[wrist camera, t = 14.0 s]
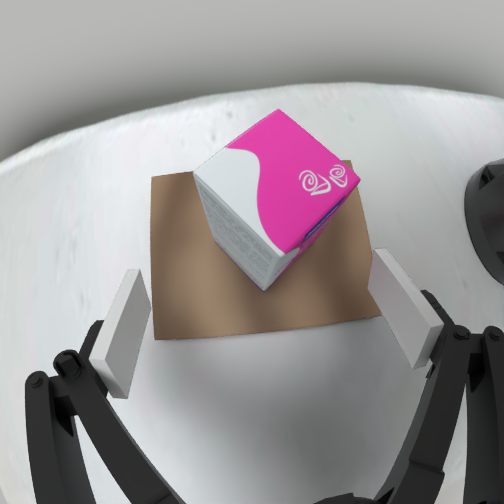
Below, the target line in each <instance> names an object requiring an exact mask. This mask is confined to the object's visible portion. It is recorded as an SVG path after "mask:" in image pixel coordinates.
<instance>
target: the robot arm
mask: <svg viewBox="0 0 504 504" xmlns="http://www.w3.org/2000/svg"><path fill="white" fill-rule="evenodd" d="M465 212H466V219H467V225H468V229H469V232H470V236H471V239H472V241H473V244H474V247H475V249H476V251H477V253H478V255H479V257H480V259H481V261H482V262H483V264H484V266H485V267H486V268H487V270H488V271H489V272H490V273H491V275H492V276H493V277H494V278H495V279H496V280H498V281H499V282H500V283H502V284H504V159H501V160H497V161H493V162H490V163H488V164H486V165H484V166H483V167H482V168H481V169H479V170H478V171H477V172H476V173H475V174H474V175H473V176H472V177H471V179H470V181H469V183H468V185H467V189H466V195H465ZM368 290H369V292H370V293H371V295H372V297H373V299H374V300H375V302H376V304H377V305H378V307H379V309H380V311H381V312H382V314H383V316H384V318H385V319H386V321H387V323H388V325H389V326H390V328H391V330H392V332H393V334H394V336H395V337H396V339H397V341H398V343H399V345H400V347H401V348H402V350H403V352H404V354H405V356H406V358H407V360H408V362H409V364H410V365H411V367H412V369H416V368H420V367H423V366H426V364H427V362H428V360H429V358H430V359H431V361H432V362H433V364H432V366H431V368H430V370H429V372H428V374H427V376H426V378H427V381H426V384H425V387H424V391H423V394H422V397H421V399H420V402H419V405H418V408H417V411H416V413H415V416H414V419H413V421H412V424H411V426H410V429H409V431H408V434H407V436H406V439H405V441H404V443H403V446H402V448H401V450H400V452H399V455H398V457H397V459H396V461H395V463H394V465H393V467H392V470H391V472H390V474H389V476H388V478H387V480H386V481H385V483H384V485H383V486H382V488H381V489H380V490H379V492H378V493H377V495H376V497H375V498H374V500H372V499H368V498H362V497H354V495H353V493H348V494H344V495H340V496H335V497H330V498H326V499H323V500H321V501H318V502H316V503H314V504H434V503H435V500H436V498H437V496H438V493H439V491H440V488H441V485H442V483H443V480H444V475H445V473H444V472H443V471H442V470H443V465H444V462H445V460H446V457H447V453H448V450H449V447H450V444H451V441H452V437H453V434H454V430H455V426H456V423H457V419H458V415H459V411H460V406H461V402H462V397H463V392H464V387H465V383H466V399H467V460H466V475H465V487H464V496H463V504H504V333H503V332H502V330H501V329H499V328H497V327H495V326H488V327H486V328H485V330H484V332H483V334H471V333H470V331H469V330H468V329H467V328H466V327H463V326H461V325H455V324H454V322H453V321H452V319H451V318H450V317H449V315H448V314H447V313H446V311H445V310H444V309H443V308H442V306H441V305H440V304H439V303H438V301H437V300H436V298H435V297H434V296H433V295H432V294H431V293H429V292H428V291H426V290H421V291H420V290H419V289H418V288H417V286H416V285H415V284H414V283H413V281H412V280H411V279H410V277H409V276H408V275H407V274H406V272H405V271H404V270H403V269H402V267H401V266H400V265H399V264H398V263H397V261H396V260H395V259H394V258H393V256H392V255H391V254H390V253H389V252H388V250H387V249H386V248H380V249H374V252H373V259H372V265H371V271H370V277H369V283H368ZM150 311H151V305H150V301H149V298H148V295H147V292H146V288H145V285H144V281H143V278H142V275H141V271H140V269H132V270H127V272H126V274H125V276H124V278H123V280H122V282H121V284H120V287H119V289H118V291H117V293H116V295H115V297H114V300H113V302H112V304H111V306H110V309H109V311H108V313H107V315H106V318H105V320H97V321H96V322H95V323H94V324H93V325H92V326H91V327H90V329H89V331H88V333H87V336H86V338H85V340H84V342H83V345H82V347H81V349H80V352H79V354H78V353H77V352H76V351H75V350H72V349H71V350H65V351H62V352H61V353H59V354H58V355H57V356H56V357H55V359H54V362H53V367H54V369H55V370H56V372H57V373H58V376H53V377H48V376H47V374H46V373H45V372H43V371H36V372H34V373H32V374H31V375H29V376H28V378H27V380H26V383H25V414H26V432H27V443H28V453H29V461H30V469H31V475H32V481H33V487H34V492H35V497H36V502H37V504H96V501H95V498H94V495H93V492H92V489H91V485H90V482H89V479H88V475H87V472H86V468H85V464H84V460H83V456H82V452H81V448H80V443H79V439H78V434H77V429H76V424H75V418H74V416H75V415H78V416H79V418H80V420H81V422H82V424H83V426H84V428H85V430H86V432H87V433H88V435H89V437H90V439H91V441H92V443H93V444H94V446H95V448H96V450H97V451H98V453H99V455H100V457H101V458H102V460H103V462H104V463H105V465H106V466H107V468H108V470H109V471H110V473H111V474H112V476H113V477H114V479H115V481H116V482H117V484H118V485H119V486H120V488H121V489H122V491H123V492H124V494H125V495H126V497H127V498H128V499H129V501H130V502H131V504H186V503H185V502H184V501H183V500H182V499H181V498H180V496H179V495H178V494H177V493H176V492H175V491H174V490H173V488H172V487H171V486H170V485H169V484H168V483H167V481H166V480H165V479H164V478H163V477H162V475H161V474H160V473H159V472H158V471H157V469H156V468H155V467H154V466H153V464H152V463H151V462H150V460H149V459H148V458H147V457H146V455H145V454H144V453H143V451H142V450H141V449H140V447H139V446H138V444H137V443H136V442H135V440H134V439H133V438H132V436H131V435H130V433H129V432H128V430H127V429H126V427H125V426H124V424H123V423H122V421H121V420H120V418H119V417H118V415H117V414H116V412H115V411H114V409H113V408H112V406H111V404H110V403H109V401H108V400H107V398H106V397H107V393H108V391H109V393H110V394H111V396H112V397H113V398H121V399H128V395H129V391H130V386H131V382H132V378H133V374H134V370H135V366H136V362H137V358H138V354H139V350H140V347H141V343H142V339H143V336H144V332H145V328H146V325H147V321H148V318H149V314H150Z"/></svg>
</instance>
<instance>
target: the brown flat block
mask: <svg viewBox="0 0 504 504" xmlns="http://www.w3.org/2000/svg"><path fill="white" fill-rule="evenodd" d="M341 161H342V162H343V163H344V164H346V165H347V166H348V167H349V168H350V169H351V170H352V171H353V168H352V164H351V160H341ZM353 172H354V171H353ZM150 250H151V288H152V308H153V324H154V337H155V340H171V339H190V338H206V337H219V336H232V335H243V334H253V333H263V332H273V331H281V330H290V329H298V328H305V327H313V326H320V325H327V324H334V323H340V322H347V321H353V320H359V319H365V318H371V317H376V316H382V315H381V311H380V309H379V307H378V305H377V304H376V302H375V300H374V299H373V297H372V295H371V293H370V292H369V290H368V283H369V277H370V271H371V265H372V259H373V257H372V251H371V246H370V241H369V236H368V231H367V226H366V222H365V217H364V212H363V208H362V204H361V199H360V195H359V191H358V187H357V186H356V187H355V189H354V190H353V191H352V193H351V194H350V195H349V197H348V198H347V199H346V201H345V202H344V203H343V205H342V206H341V208H340V209H339V210H338V212H337V213H336V214H335V215H334V217H333V218H332V219H331V221H330V222H329V223H328V225H327V226H326V227H325V229H324V230H323V231H322V233H321V234H320V235H319V236H318V238H317V239H316V240H315V242H314V243H313V244H312V245H311V246H310V247H309V248H308V249H307V250H305V251H304V252H303V253H302V254H301V255H300V256H299V257H298V258H297V259H296V260H295V261H294V262H293V263H292V264H291V265H290V266H289V267H288V268H287V269H286V270H285V271H284V272H283V273H282V274H281V275H280V276H279V277H278V278H277V279H276V280H275V281H274V282H273V283H272V284H271V285H270V286H269V287H268V288H267V289H266V290H265V291H262V290H261V289H260V288H258V286H257V285H256V284H255V283H254V282H253V281H252V280H251V279H250V278H249V277H248V276H247V275H246V274H245V273H244V272H243V271H242V270H241V269H240V268H239V267H238V266H237V265H236V264H235V262H234V261H233V260H232V259H231V258H230V257H229V256H228V255H227V254H226V253H225V252H224V251H223V250H222V249H221V248H220V246H219V245H218V244H217V243H216V242H215V241H214V239H213V235H212V232H211V229H210V226H209V223H208V220H207V217H206V214H205V211H204V208H203V204H202V201H201V198H200V195H199V192H198V189H197V186H196V183H195V180H194V176H193V171H191V172H183V173H176V174H168V175H161V176H154V177H152V181H151V219H150Z"/></svg>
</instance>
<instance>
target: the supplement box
mask: <svg viewBox="0 0 504 504" xmlns="http://www.w3.org/2000/svg"><path fill="white" fill-rule="evenodd" d="M193 176H194V180H195V183H196V186H197V189H198V192H199V195H200V198H201V201H202V204H203V208H204V211H205V214H206V217H207V220H208V223H209V226H210V229H211V232H212V235H213V239H214V241H215V242H216V243H217V244H218V245H219V246H220V248H221V249H222V250H223V251H224V252H225V253H226V254H227V255H228V256H229V257H230V258H231V259H232V260H233V261H234V262H235V264H236V265H237V266H238V267H239V268H240V269H241V270H242V271H243V272H244V273H245V274H246V275H247V276H248V277H249V278H250V279H251V280H252V281H253V282H254V283H255V284H256V285H257V286H258V288H260V289H261V290H262V291H265V290H266V289H267V288H268V287H269V286H270V285H271V284H272V283H273V282H274V281H275V280H276V279H277V278H278V277H279V276H280V275H281V274H282V273H283V272H284V271H285V270H286V269H287V268H288V267H289V266H290V265H291V264H292V263H293V262H294V261H295V260H296V259H297V258H298V257H299V256H300V255H301V254H302V253H303V252H304V251H305V250H307V249H308V248H309V247H310V246H311V245H312V244H313V243H314V242H315V240H316V239H317V238H318V236H319V235H320V234H321V233H322V231H323V230H324V229H325V227H326V226H327V225H328V223H329V222H330V221H331V219H332V218H333V217H334V215H335V214H336V213H337V212H338V210H339V209H340V208H341V206H342V205H343V203H344V202H345V201H346V199H347V198H348V197H349V195H350V194H351V193H352V191H353V190H354V189H355V187H356V186H357V185H358V183H359V182H360V180H361V179H360V178H359V177H358V176H357V175H356V174H355V173H354V172H353V171H352V170H351V169H350V168H349V167H348V166H347V165H346V164H344V163H343V162H342V161H341V160H340V159H339V158H337V157H336V156H335V155H334V154H333V153H331V152H330V151H329V150H328V149H327V148H325V147H324V146H323V145H322V144H321V143H320V142H318V141H317V140H316V139H315V138H314V137H313V136H311V135H310V134H309V133H308V132H307V131H306V130H304V129H303V128H302V127H301V126H300V125H298V124H297V123H296V122H295V121H293V120H292V119H291V118H290V117H289V116H287V115H286V114H285V113H284V112H282V111H281V110H280V109H277V110H276V111H274V112H272V113H271V114H269V115H268V116H266V117H265V118H263V119H262V120H260V121H259V122H258V123H256V124H255V125H254V126H252V127H251V128H249V129H248V130H246V131H245V132H244V133H242V134H241V135H239V136H238V137H237V138H236V139H234V140H233V141H232V142H230V143H229V144H228V145H226V146H225V147H224V148H222V149H221V150H220V151H219V152H217V153H216V154H215V155H214V156H212V157H211V158H210V159H209V160H207V161H206V162H205V163H203V164H202V165H201V166H200V167H198V168H197V169H196V170H195V171H193Z"/></svg>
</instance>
